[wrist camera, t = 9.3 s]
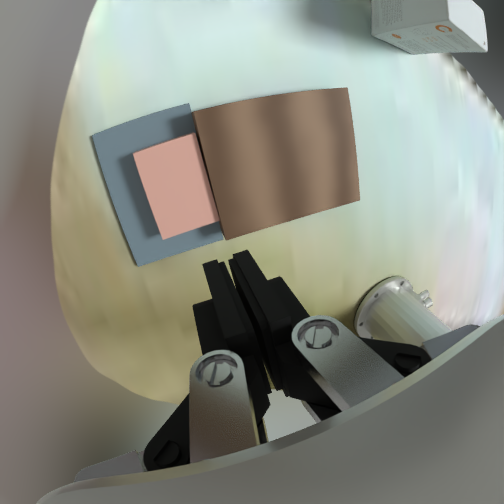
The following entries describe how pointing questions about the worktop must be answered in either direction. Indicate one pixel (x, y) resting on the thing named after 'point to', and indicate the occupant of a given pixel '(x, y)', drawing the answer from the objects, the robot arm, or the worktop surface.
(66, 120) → the worktop surface
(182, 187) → the tile
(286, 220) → the platform
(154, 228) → the mat
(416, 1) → the small box
